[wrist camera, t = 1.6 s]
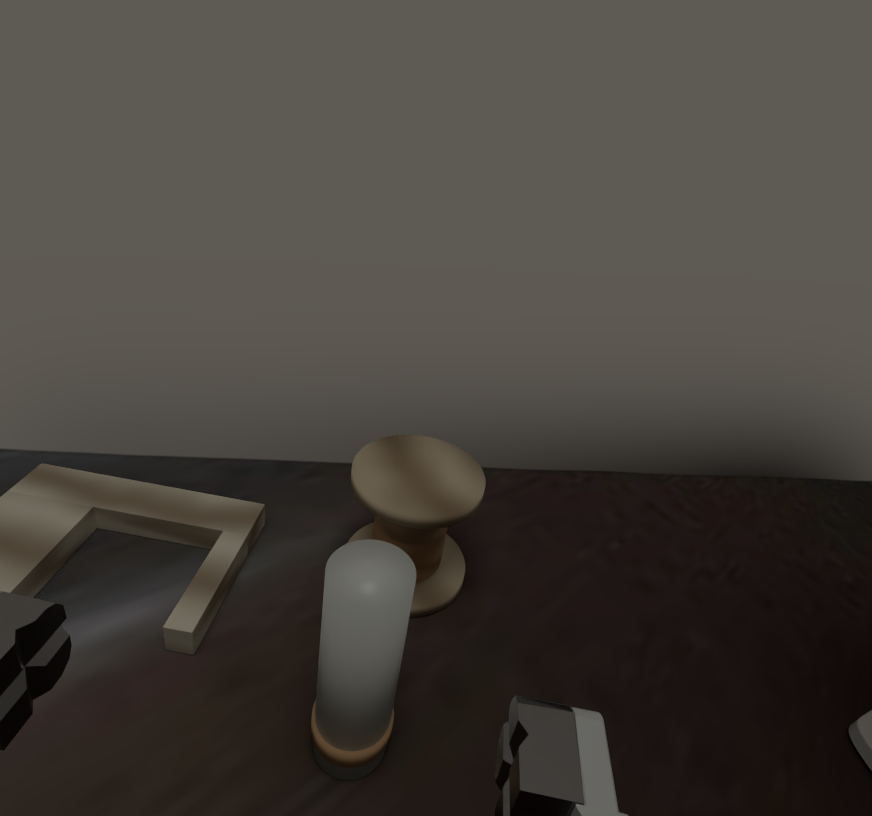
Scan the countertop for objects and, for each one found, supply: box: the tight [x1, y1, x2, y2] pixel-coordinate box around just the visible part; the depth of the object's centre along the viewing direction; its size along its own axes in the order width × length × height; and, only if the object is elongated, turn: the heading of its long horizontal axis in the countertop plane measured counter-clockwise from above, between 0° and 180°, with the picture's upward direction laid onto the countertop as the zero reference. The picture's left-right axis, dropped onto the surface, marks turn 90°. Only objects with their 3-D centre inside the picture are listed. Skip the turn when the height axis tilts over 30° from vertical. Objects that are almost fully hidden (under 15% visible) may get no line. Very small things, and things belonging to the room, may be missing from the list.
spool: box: [348, 435, 485, 618], centre depth 42 cm, size 9×9×9 cm
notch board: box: [0, 463, 265, 655], centre depth 40 cm, size 12×18×2 cm
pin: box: [311, 539, 416, 780], centre depth 29 cm, size 4×4×13 cm
